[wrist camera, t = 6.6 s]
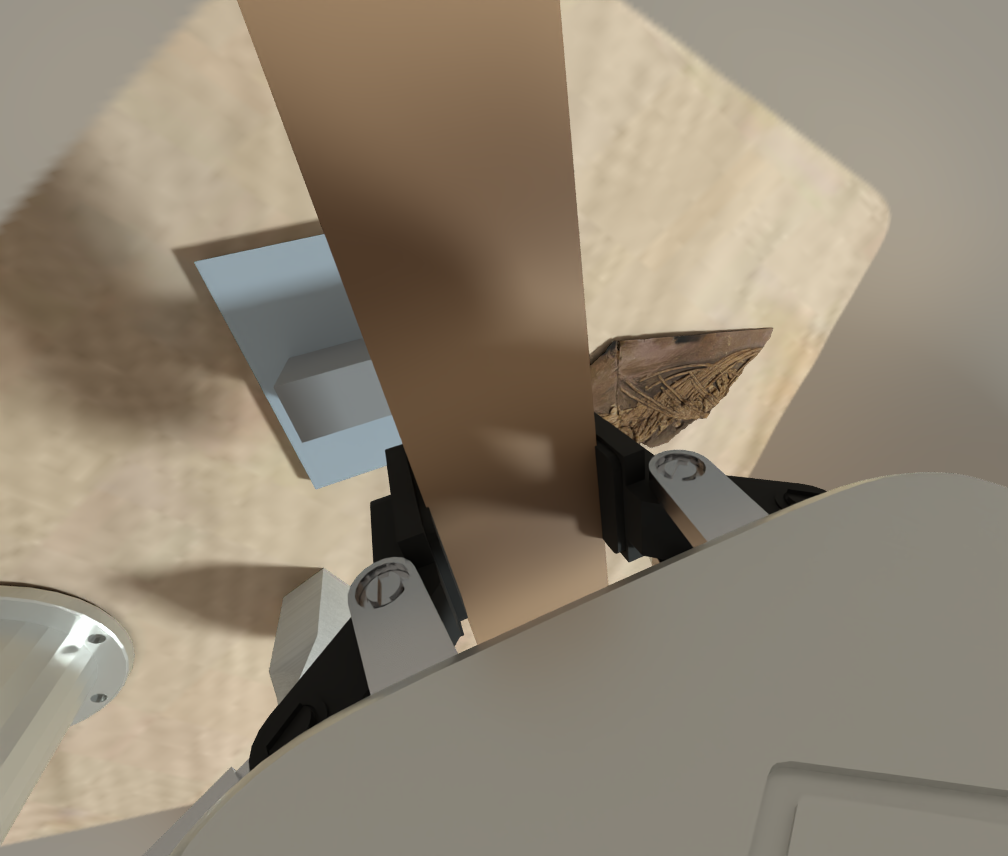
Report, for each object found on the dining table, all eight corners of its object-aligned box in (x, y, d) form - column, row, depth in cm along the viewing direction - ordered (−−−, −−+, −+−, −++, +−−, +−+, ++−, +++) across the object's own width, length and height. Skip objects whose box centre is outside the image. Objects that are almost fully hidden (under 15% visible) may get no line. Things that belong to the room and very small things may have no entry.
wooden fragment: (517, 500, 33) (521, 507, 32) (484, 383, 28) (489, 388, 27) (760, 398, 38) (769, 402, 37) (772, 281, 33) (784, 282, 32)
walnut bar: (241, -28, 7) (132, -277, 4) (457, -46, 8) (538, -263, 4) (491, 665, 18) (523, 768, 14) (570, 628, 19) (619, 718, 15)
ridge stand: (317, 481, 27) (308, 539, 21) (200, 260, 20) (147, 269, 15) (557, 400, 30) (599, 433, 25) (529, 190, 23) (578, 177, 18)
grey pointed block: (323, 567, 30) (311, 701, 21) (382, 608, 33) (392, 737, 25) (283, 597, 30) (254, 743, 21) (347, 634, 33) (344, 773, 25)
